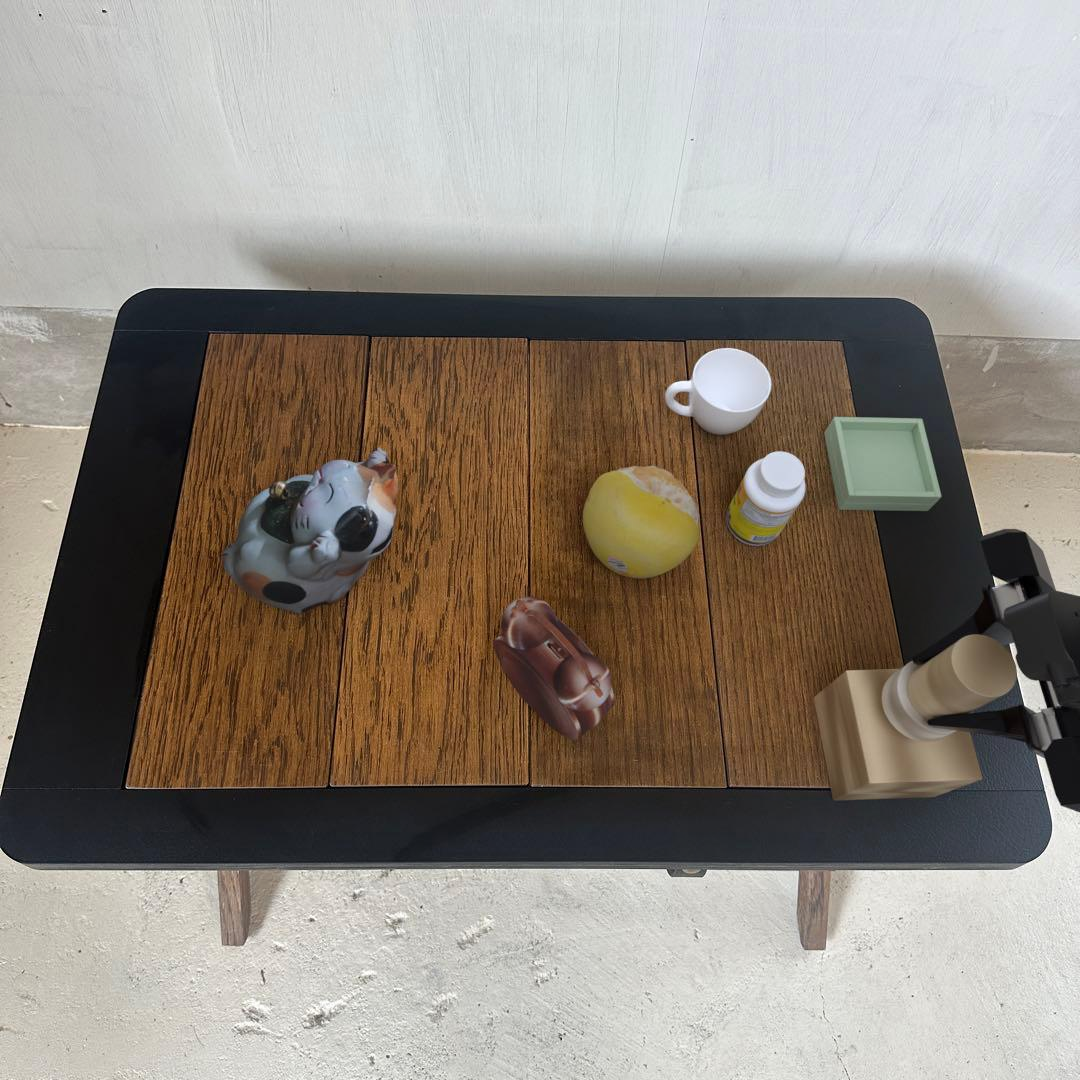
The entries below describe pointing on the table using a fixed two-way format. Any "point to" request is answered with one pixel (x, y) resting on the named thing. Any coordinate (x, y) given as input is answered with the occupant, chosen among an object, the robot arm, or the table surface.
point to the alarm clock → (553, 668)
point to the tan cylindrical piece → (948, 686)
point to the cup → (723, 391)
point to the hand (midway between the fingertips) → (921, 691)
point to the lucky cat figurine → (314, 533)
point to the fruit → (640, 521)
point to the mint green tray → (881, 464)
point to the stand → (884, 746)
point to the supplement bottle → (766, 498)
